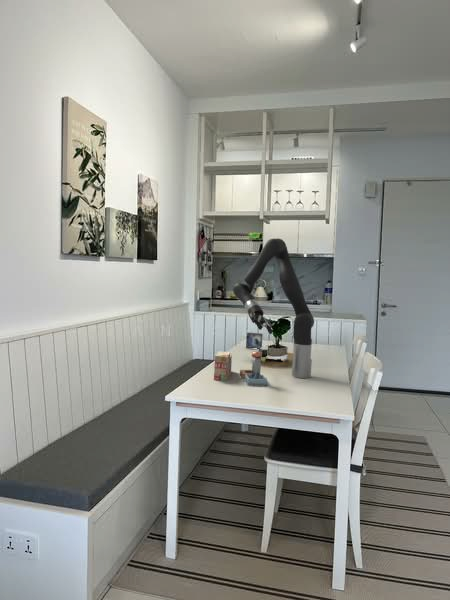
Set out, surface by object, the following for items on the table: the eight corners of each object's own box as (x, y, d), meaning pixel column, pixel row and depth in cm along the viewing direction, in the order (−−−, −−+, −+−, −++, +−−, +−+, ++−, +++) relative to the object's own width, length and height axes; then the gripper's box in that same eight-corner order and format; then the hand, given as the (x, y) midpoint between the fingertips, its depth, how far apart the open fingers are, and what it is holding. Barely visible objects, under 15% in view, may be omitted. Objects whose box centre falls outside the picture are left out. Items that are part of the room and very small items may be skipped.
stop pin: (259, 379, 233) (261, 351, 232) (261, 382, 228) (262, 353, 227) (250, 379, 232) (251, 351, 231) (251, 382, 227) (253, 353, 226)
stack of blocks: (219, 370, 253) (220, 347, 252) (231, 371, 252) (232, 348, 251) (213, 380, 232) (214, 355, 231) (226, 381, 231) (227, 356, 230)
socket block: (256, 375, 245) (257, 370, 245) (260, 380, 236) (260, 374, 236) (239, 375, 244) (240, 369, 244) (242, 379, 235) (242, 373, 235)
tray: (263, 380, 235) (263, 374, 235) (266, 385, 226) (267, 379, 226) (244, 380, 234) (245, 374, 234) (247, 385, 225) (248, 379, 225)
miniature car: (287, 362, 285) (288, 349, 284) (258, 362, 281) (259, 348, 280) (282, 359, 294) (282, 346, 293) (254, 359, 290) (254, 346, 289)
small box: (245, 348, 322) (246, 333, 321) (246, 347, 329) (247, 332, 328) (261, 350, 320) (262, 334, 320) (261, 348, 327) (262, 333, 326)
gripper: (249, 300, 249) (262, 322, 238) (266, 308, 259) (279, 329, 248) (240, 310, 252) (252, 332, 241) (257, 318, 261) (270, 339, 250)
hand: (266, 330), depth 244 cm, fingers open, 8 cm apart
